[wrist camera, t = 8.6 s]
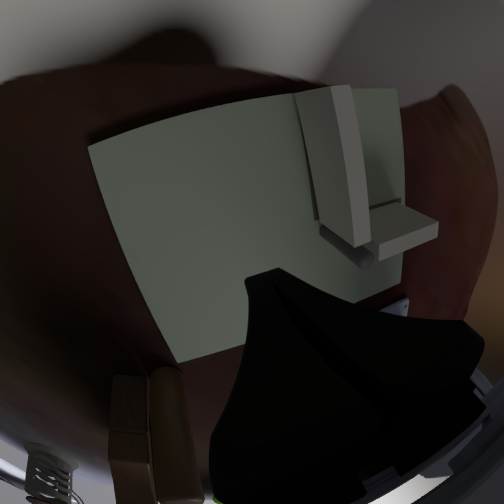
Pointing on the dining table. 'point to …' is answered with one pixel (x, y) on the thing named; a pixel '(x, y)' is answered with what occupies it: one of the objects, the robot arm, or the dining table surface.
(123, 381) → the wooden toy
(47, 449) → the grey box grater
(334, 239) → the base
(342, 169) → the fence panel
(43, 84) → the dining table surface
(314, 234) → the board
